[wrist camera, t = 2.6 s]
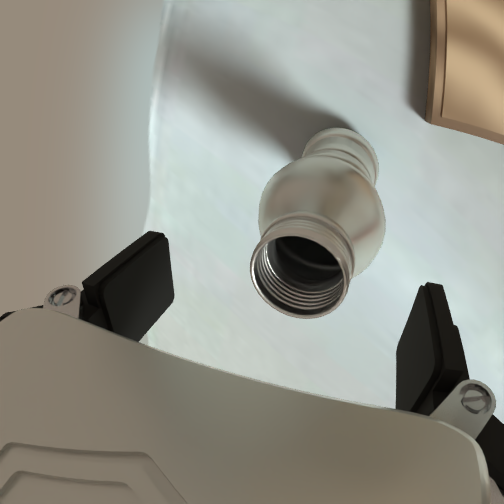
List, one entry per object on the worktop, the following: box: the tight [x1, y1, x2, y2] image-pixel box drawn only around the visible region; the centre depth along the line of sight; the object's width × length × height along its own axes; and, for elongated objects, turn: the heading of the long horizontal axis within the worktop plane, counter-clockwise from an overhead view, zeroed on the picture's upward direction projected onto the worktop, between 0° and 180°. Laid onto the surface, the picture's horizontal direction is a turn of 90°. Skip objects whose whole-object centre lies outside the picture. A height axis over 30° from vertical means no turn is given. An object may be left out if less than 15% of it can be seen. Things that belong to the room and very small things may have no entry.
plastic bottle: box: [250, 128, 386, 319], centre depth 20 cm, size 6×7×20 cm
